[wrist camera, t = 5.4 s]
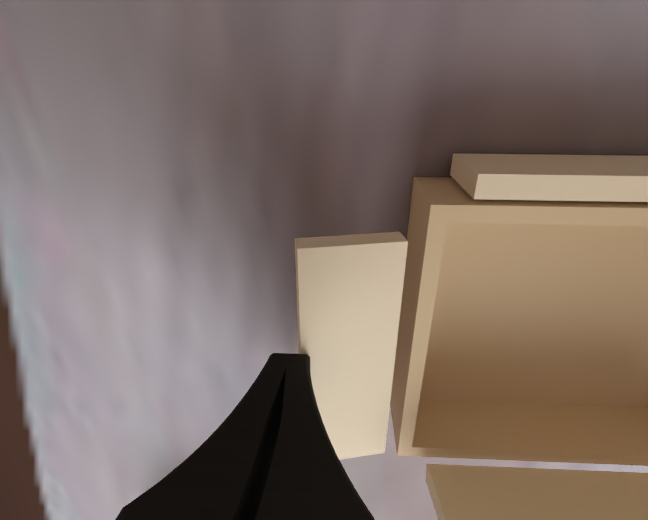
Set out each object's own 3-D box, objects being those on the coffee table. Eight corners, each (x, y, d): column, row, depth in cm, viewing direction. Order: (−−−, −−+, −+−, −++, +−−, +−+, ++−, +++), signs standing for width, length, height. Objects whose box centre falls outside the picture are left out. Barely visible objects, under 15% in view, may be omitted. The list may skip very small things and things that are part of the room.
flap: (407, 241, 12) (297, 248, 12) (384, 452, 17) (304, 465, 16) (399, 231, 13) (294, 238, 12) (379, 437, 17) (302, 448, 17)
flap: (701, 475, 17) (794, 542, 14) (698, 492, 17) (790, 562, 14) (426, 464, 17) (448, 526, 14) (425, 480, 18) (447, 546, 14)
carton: (843, 155, 14) (978, 180, 11) (690, 408, 20) (751, 469, 17) (416, 150, 15) (435, 173, 12) (389, 398, 21) (397, 455, 18)
